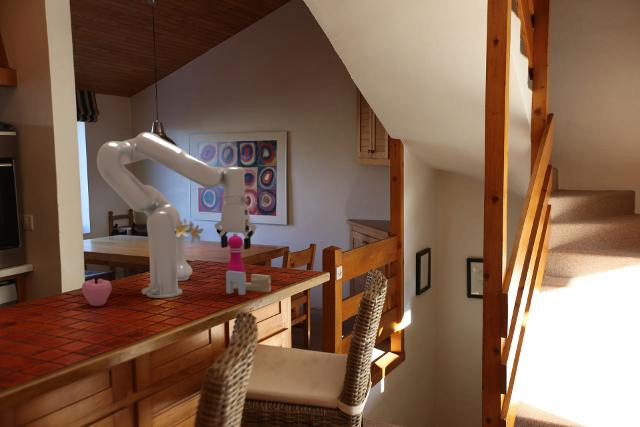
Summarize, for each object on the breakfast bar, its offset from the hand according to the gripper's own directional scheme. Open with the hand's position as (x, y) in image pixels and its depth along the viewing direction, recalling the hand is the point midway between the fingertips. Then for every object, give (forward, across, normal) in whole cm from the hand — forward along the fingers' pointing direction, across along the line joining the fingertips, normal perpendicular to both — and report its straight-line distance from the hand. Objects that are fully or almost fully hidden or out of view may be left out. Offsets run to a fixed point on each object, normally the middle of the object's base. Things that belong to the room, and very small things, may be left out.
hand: (235, 248), depth 213 cm
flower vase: (+17, +34, -12) cm, 40 cm away
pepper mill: (+17, +12, -18) cm, 27 cm away
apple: (+17, +34, +34) cm, 51 cm away
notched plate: (+17, 0, 0) cm, 17 cm away
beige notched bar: (+17, -1, -6) cm, 18 cm away
